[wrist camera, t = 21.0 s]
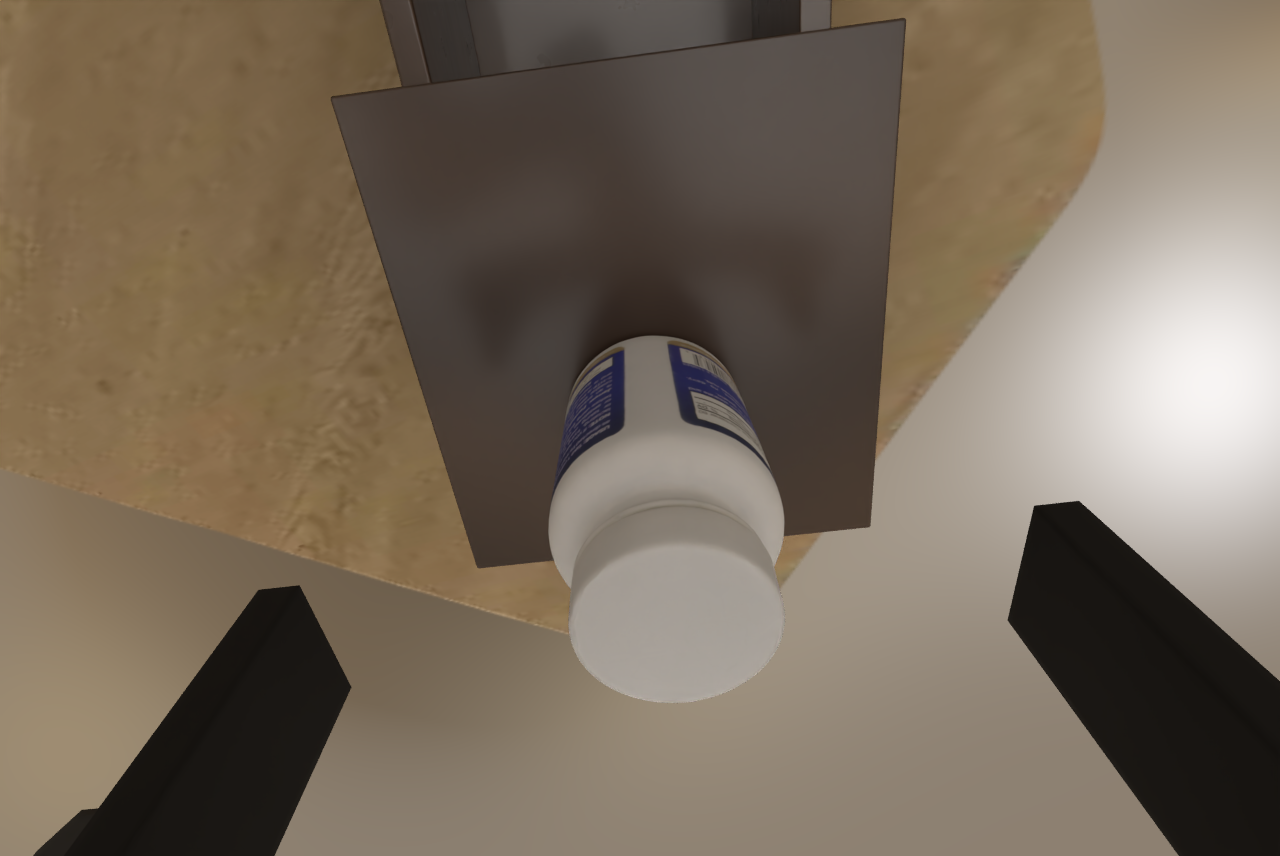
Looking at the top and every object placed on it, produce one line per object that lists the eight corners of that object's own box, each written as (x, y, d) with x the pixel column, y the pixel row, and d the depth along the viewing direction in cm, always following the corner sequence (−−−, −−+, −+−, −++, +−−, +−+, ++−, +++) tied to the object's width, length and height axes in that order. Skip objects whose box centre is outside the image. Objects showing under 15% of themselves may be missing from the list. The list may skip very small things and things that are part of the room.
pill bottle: (589, 496, 20) (565, 742, 13) (550, 349, 18) (489, 541, 10) (749, 469, 20) (827, 707, 12) (731, 316, 18) (813, 489, 10)
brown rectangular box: (438, 98, 24) (328, 96, 15) (801, 48, 23) (907, 17, 14) (519, 436, 30) (477, 569, 22) (800, 404, 30) (870, 527, 21)
